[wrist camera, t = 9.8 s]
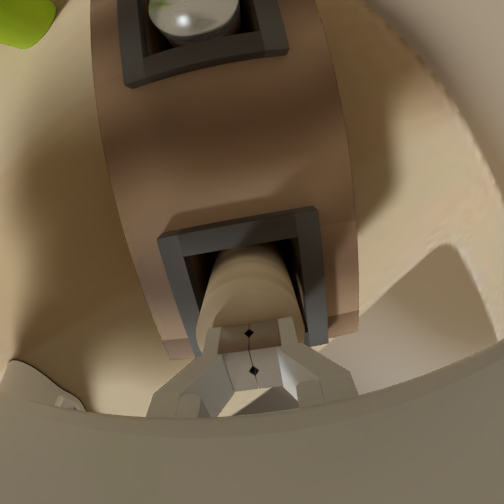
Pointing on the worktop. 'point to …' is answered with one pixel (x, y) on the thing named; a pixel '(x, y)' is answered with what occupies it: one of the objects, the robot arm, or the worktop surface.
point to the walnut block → (228, 159)
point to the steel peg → (195, 19)
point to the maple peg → (248, 290)
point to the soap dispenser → (25, 21)
